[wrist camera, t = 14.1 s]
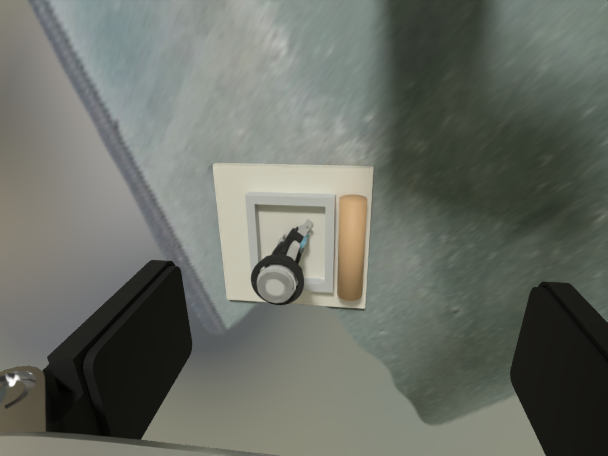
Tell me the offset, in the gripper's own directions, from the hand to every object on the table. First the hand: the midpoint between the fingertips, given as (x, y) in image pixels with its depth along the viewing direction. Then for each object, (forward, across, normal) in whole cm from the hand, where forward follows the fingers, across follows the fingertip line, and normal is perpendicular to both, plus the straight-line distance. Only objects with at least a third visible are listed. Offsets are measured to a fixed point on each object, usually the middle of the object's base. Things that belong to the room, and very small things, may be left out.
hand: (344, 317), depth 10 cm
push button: (+32, +7, +13) cm, 36 cm away
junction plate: (+33, +7, +13) cm, 36 cm away
